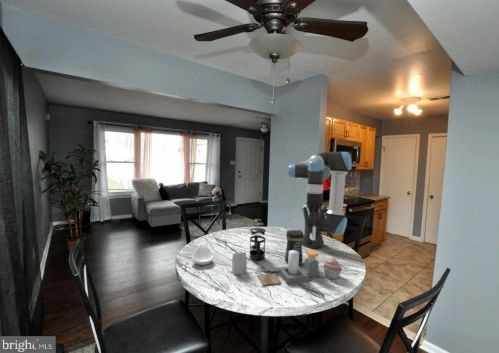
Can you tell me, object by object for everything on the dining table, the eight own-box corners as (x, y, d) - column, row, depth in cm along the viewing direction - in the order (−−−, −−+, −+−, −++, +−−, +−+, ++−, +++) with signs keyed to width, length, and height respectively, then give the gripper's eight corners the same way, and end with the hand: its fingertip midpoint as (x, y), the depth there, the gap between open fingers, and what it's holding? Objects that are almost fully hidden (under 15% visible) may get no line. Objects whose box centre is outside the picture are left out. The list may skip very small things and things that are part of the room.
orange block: (313, 261, 120) (313, 250, 120) (317, 265, 116) (318, 253, 115) (305, 262, 119) (305, 251, 118) (309, 266, 114) (310, 254, 114)
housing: (309, 269, 124) (310, 255, 123) (321, 280, 113) (322, 264, 112) (278, 273, 119) (278, 258, 119) (287, 284, 108) (287, 268, 108)
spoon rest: (214, 266, 125) (215, 254, 124) (192, 268, 122) (192, 255, 121) (210, 249, 148) (211, 238, 147) (191, 251, 145) (191, 240, 144)
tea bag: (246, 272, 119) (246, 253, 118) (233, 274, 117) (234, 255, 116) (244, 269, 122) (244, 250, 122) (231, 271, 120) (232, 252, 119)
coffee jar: (288, 265, 128) (289, 232, 126) (283, 259, 136) (284, 228, 134) (304, 264, 130) (306, 232, 128) (298, 258, 137) (300, 227, 136)
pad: (274, 274, 118) (274, 273, 117) (281, 283, 109) (281, 282, 109) (257, 276, 115) (257, 275, 115) (262, 286, 107) (263, 284, 107)
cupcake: (324, 270, 124) (325, 252, 123) (343, 275, 119) (344, 256, 118) (320, 277, 116) (321, 258, 115) (339, 283, 111) (341, 263, 110)
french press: (266, 261, 132) (267, 222, 131) (250, 262, 131) (251, 222, 129) (263, 253, 144) (264, 216, 142) (247, 253, 143) (248, 216, 141)
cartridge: (295, 274, 118) (296, 249, 117) (299, 279, 113) (300, 253, 112) (286, 275, 117) (287, 250, 116) (290, 280, 112) (291, 254, 111)
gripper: (322, 191, 120) (320, 236, 121) (299, 191, 116) (297, 237, 118) (330, 193, 112) (328, 241, 114) (306, 193, 109) (304, 242, 111)
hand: (312, 239), depth 116 cm, fingers closed
